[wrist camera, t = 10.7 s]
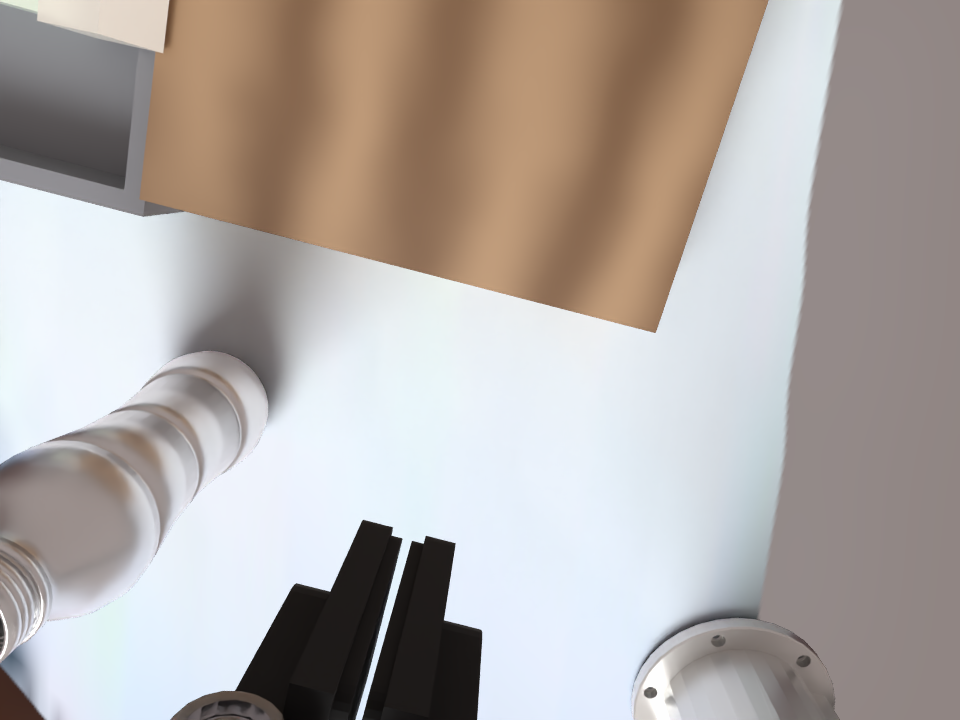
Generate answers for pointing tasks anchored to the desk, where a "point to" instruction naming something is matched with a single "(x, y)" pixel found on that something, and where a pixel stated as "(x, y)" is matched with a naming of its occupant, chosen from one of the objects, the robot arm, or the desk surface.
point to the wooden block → (457, 134)
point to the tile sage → (22, 5)
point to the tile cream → (111, 20)
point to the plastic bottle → (118, 490)
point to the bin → (74, 113)
